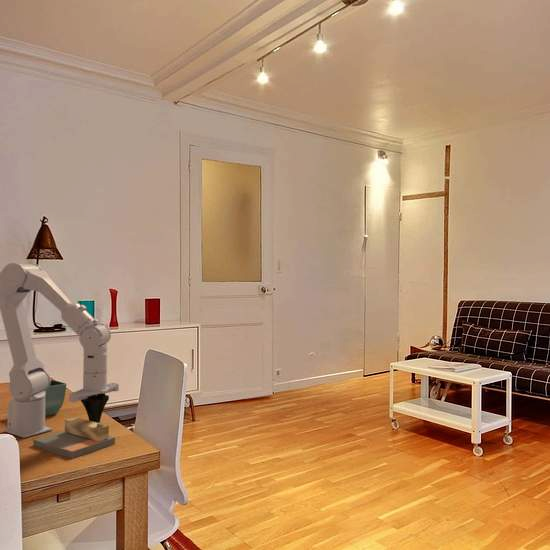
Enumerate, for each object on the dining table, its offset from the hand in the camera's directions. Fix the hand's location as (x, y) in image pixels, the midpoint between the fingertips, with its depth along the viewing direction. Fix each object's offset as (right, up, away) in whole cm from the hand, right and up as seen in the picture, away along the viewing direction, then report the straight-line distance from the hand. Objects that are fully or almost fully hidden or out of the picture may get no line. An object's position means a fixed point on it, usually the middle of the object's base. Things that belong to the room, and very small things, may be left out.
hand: (94, 424), depth 130 cm
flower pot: (-21, -3, +18) cm, 28 cm away
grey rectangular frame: (-2, -3, -8) cm, 9 cm away
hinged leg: (0, -1, -6) cm, 6 cm away
